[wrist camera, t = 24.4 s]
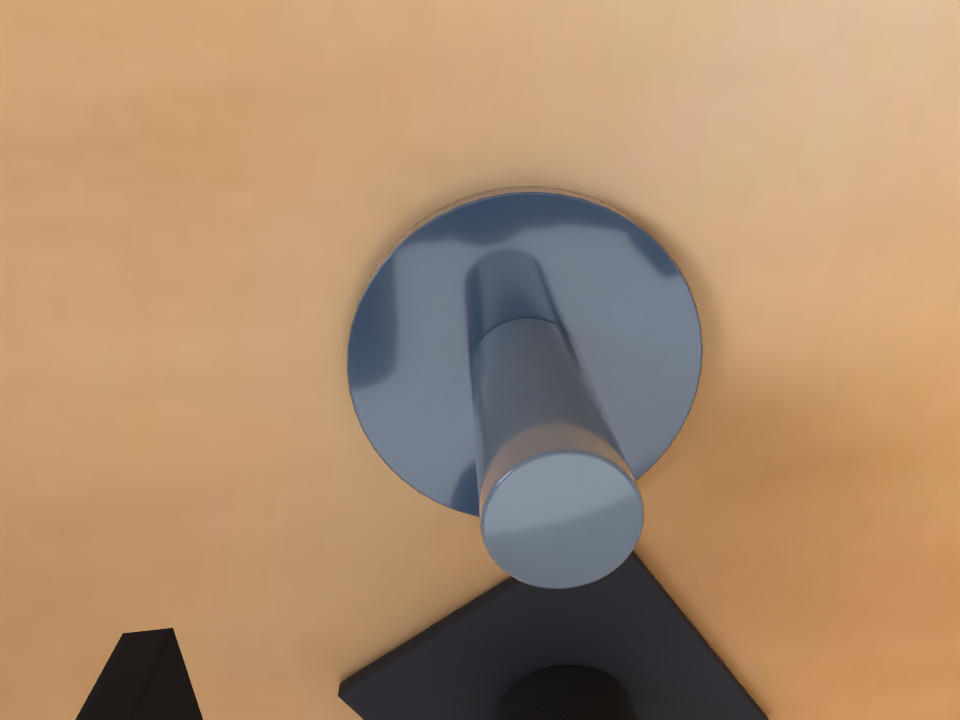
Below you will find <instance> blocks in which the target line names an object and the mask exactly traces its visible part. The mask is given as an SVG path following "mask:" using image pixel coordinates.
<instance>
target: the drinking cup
mask: <svg viewBox="0 0 960 720" xmlns="http://www.w3.org/2000/svg"><path fill="white" fill-rule="evenodd" d="M495 720H638V717H637V715H636V712H635V710H634V707H633V705H632V702H631V700H630V698H629V696H628V694H627V692H626V691H625V689H624V688H623V687H622V686H621V685H620V684H619V683H618V682H617V681H616V680H615V679H613V678H612V677H610V676H609V675H607V674H605V673H603V672H601V671H599V670H596V669H593V668H589V667H584V666H575V665H564V666H555V667H550V668H546V669H542V670H539V671H537V672H534V673H532V674H530V675H528V676H526V677H524V678H523V679H521V680H520V681H518V682H517V683H516V684H515V685H513V686H512V687H511V688H510V689H509V690H508V691H507V693H506V694H505V695H504V697H503V698H502V700H501V701H500V703H499V705H498V708H497V711H496V715H495Z"/></svg>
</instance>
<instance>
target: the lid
mask: <svg viewBox="0 0 960 720" xmlns="http://www.w3.org/2000/svg"><path fill="white" fill-rule="evenodd" d="M702 350H703V349H702V335H701V326H700V321H699V317H698V312H697V308H696V305H695V302H694V299H693V297H692V294H691V291H690V289H689V286H688V284H687V282H686V281H685V279H684V277H683V275H682V274H681V272H680V270H679V268H678V266H677V265H676V264H675V263H674V261H673V260H672V259H671V257H670V256H669V255H668V253H667V252H666V251H665V249H664V248H663V247H662V246H661V245H660V244H659V243H658V242H657V241H656V240H655V239H654V238H653V237H651V236H650V235H649V234H648V233H647V232H646V231H645V230H644V229H643V228H642V227H641V226H640V225H638V224H637V223H636V222H634V221H633V220H632V219H630V218H629V217H627V216H626V215H625V214H623V213H622V212H620V211H618V210H616V209H614V208H612V207H610V206H609V205H607V204H605V203H603V202H601V201H598V200H595V199H592V198H590V197H587V196H584V195H581V194H578V193H574V192H569V191H564V190H560V189H554V188H541V187H516V188H504V189H499V190H494V191H488V192H483V193H480V194H477V195H474V196H470V197H467V198H464V199H461V200H459V201H456V202H454V203H452V204H450V205H448V206H446V207H444V208H442V209H440V210H438V211H436V212H434V213H433V214H431V215H430V216H428V217H427V218H425V219H424V220H422V221H421V222H419V223H418V224H416V225H415V226H414V227H413V228H412V229H410V230H409V231H408V232H407V233H406V234H405V235H404V236H402V237H401V238H400V239H399V240H398V241H397V242H396V243H395V244H394V246H393V247H392V248H391V249H390V250H389V251H388V252H387V253H386V255H385V256H384V257H383V258H382V260H381V261H380V263H379V264H378V266H377V267H376V269H375V270H374V272H373V273H372V275H371V276H370V278H369V280H368V283H367V285H366V287H365V289H364V291H363V293H362V295H361V297H360V300H359V304H358V307H357V310H356V313H355V316H354V319H353V322H352V325H351V331H350V337H349V343H348V353H347V373H348V382H349V390H350V394H351V398H352V402H353V406H354V409H355V412H356V415H357V417H358V420H359V422H360V424H361V427H362V429H363V431H364V433H365V435H366V436H367V438H368V440H369V441H370V443H371V445H372V446H373V448H374V449H375V451H376V452H377V453H378V454H379V456H380V457H381V458H382V459H383V461H384V462H385V463H386V464H387V466H388V467H389V468H391V469H392V470H393V471H394V472H395V473H396V474H397V475H398V476H399V477H400V478H401V479H402V480H403V481H405V482H406V483H407V484H409V485H410V486H411V487H413V488H414V489H415V490H417V491H418V492H419V493H421V494H423V495H425V496H427V497H428V498H430V499H432V500H434V501H435V502H437V503H439V504H442V505H444V506H447V507H449V508H451V509H454V510H456V511H460V512H463V513H467V514H470V515H474V516H478V517H480V528H481V534H482V539H483V542H484V545H485V547H486V549H487V551H488V553H489V555H490V556H491V557H492V559H493V560H494V561H495V563H496V564H497V565H498V566H499V567H500V568H501V569H502V570H504V571H505V572H506V573H508V574H509V575H510V576H512V577H514V578H515V579H517V580H519V581H521V582H524V583H526V584H529V585H532V586H536V587H541V588H547V589H566V588H573V587H579V586H582V585H586V584H589V583H592V582H594V581H597V580H599V579H601V578H602V577H604V576H606V575H608V574H609V573H611V572H612V571H614V570H615V569H616V568H617V567H618V566H620V565H621V564H622V563H623V562H624V561H625V560H626V558H627V557H628V556H629V555H630V553H631V552H632V551H633V549H634V547H635V545H636V544H637V542H638V540H639V537H640V534H641V531H642V527H643V522H644V507H643V501H642V497H641V493H640V491H639V489H638V486H637V484H636V482H635V481H636V480H637V479H639V478H640V477H641V476H642V475H643V474H644V473H645V472H646V471H647V470H649V469H650V468H651V467H652V466H653V465H654V464H655V463H656V462H657V461H658V459H659V458H660V457H661V456H662V455H663V454H664V453H665V451H666V450H667V449H668V448H669V446H670V445H671V443H672V442H673V440H674V439H675V437H676V436H677V435H678V433H679V432H680V430H681V428H682V426H683V424H684V422H685V420H686V418H687V416H688V414H689V412H690V409H691V406H692V404H693V401H694V398H695V395H696V392H697V388H698V383H699V378H700V374H701V365H702Z"/></svg>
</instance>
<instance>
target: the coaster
mask: <svg viewBox="0 0 960 720" xmlns="http://www.w3.org/2000/svg"><path fill="white" fill-rule="evenodd" d="M564 665H575V666H584V667H589V668H593V669H596V670H599V671H601V672H603V673H605V674H607V675H609V676H610V677H612V678H613V679H615V680H616V681H617V682H618V683H619V684H620V685H621V686H622V687H623V688H624V689H625V691H626V692H627V694H628V696H629V698H630V700H631V702H632V705H633V707H634V710H635V712H636V715H637V717H638V720H769V719H768V718H767V717H766V716H765V714H764V713H763V712H762V711H761V709H760V708H759V707H758V706H757V704H756V703H755V702H754V701H753V699H752V698H751V697H750V696H749V694H748V693H747V692H746V691H745V689H744V688H743V687H742V686H741V684H740V683H739V682H738V681H737V680H736V678H735V677H734V676H733V675H732V673H731V672H730V671H729V670H728V668H727V667H726V666H725V665H724V663H723V662H722V661H721V660H720V658H719V657H718V656H717V655H716V653H715V652H714V651H713V650H712V648H711V647H710V646H709V645H708V643H707V642H706V641H705V640H704V638H703V637H702V636H701V635H700V634H699V632H698V631H697V630H696V629H695V627H694V626H693V625H692V624H691V622H690V621H689V620H688V619H687V617H686V616H685V615H684V614H683V612H682V611H681V610H680V609H679V607H678V606H677V605H676V604H675V602H674V601H673V600H672V599H671V597H670V596H669V595H668V594H667V592H666V591H665V590H664V589H663V588H662V586H661V585H660V584H659V583H658V581H657V580H656V579H655V578H654V576H653V575H652V574H651V573H650V571H649V570H648V569H647V568H646V566H645V565H644V564H643V563H642V561H641V560H640V559H639V558H638V556H637V555H636V554H635V553H634V551H632V552H631V553H630V555H629V556H628V557H627V558H626V560H625V561H624V562H623V563H622V564H621V565H620V566H618V567H617V568H616V569H615V570H614V571H612V572H611V573H609V574H608V575H606V576H604V577H602V578H601V579H599V580H597V581H594V582H592V583H589V584H586V585H582V586H579V587H573V588H566V589H547V588H541V587H536V586H532V585H529V584H526V583H524V582H521V581H519V580H517V579H515V578H514V577H510V578H509V579H507V580H505V581H504V582H502V583H501V584H499V585H497V586H496V587H494V588H493V589H491V590H489V591H488V592H486V593H485V594H483V595H481V596H480V597H478V598H476V599H475V600H473V601H472V602H470V603H468V604H467V605H465V606H464V607H462V608H460V609H459V610H457V611H456V612H454V613H452V614H451V615H449V616H448V617H446V618H444V619H443V620H441V621H440V622H438V623H436V624H435V625H433V626H432V627H430V628H428V629H427V630H425V631H424V632H422V633H420V634H419V635H417V636H415V637H414V638H412V639H411V640H409V641H407V642H406V643H404V644H403V645H401V646H399V647H398V648H396V649H395V650H393V651H391V652H390V653H388V654H387V655H385V656H383V657H382V658H380V659H379V660H377V661H375V662H374V663H372V664H371V665H369V666H367V667H366V668H364V669H363V670H361V671H359V672H358V673H356V674H354V675H353V676H351V677H350V678H348V679H346V680H345V681H343V682H342V683H341V684H340V687H339V693H338V696H339V697H340V698H341V699H342V700H343V701H344V702H345V703H346V704H347V705H348V706H349V707H351V708H352V709H353V710H354V711H355V712H356V713H357V714H358V715H359V716H360V717H362V718H363V719H364V720H495V715H496V711H497V708H498V705H499V703H500V701H501V700H502V698H503V697H504V695H505V694H506V693H507V691H508V690H509V689H510V688H511V687H512V686H513V685H515V684H516V683H517V682H518V681H520V680H521V679H523V678H524V677H526V676H528V675H530V674H532V673H534V672H537V671H539V670H542V669H546V668H550V667H555V666H564Z"/></svg>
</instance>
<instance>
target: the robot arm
mask: <svg viewBox="0 0 960 720" xmlns="http://www.w3.org/2000/svg"><path fill="white" fill-rule="evenodd" d="M76 720H203V718H202V715H201V712H200V709H199V706H198V703H197V700H196V697H195V694H194V691H193V688H192V685H191V682H190V679H189V676H188V672H187V669H186V666H185V663H184V660H183V657H182V654H181V651H180V648H179V645H178V642H177V639H176V636H175V633H174V630H173V628H168V629H159V630H150V631H141V632H131V633H123V634H122V636H121V638H120V640H119V642H118V643H117V645H116V647H115V649H114V651H113V652H112V654H111V656H110V658H109V660H108V662H107V663H106V665H105V667H104V669H103V671H102V672H101V674H100V676H99V678H98V680H97V682H96V683H95V685H94V687H93V689H92V691H91V692H90V694H89V696H88V698H87V700H86V702H85V703H84V705H83V707H82V709H81V711H80V712H79V714H78V716H77V718H76Z"/></svg>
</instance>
